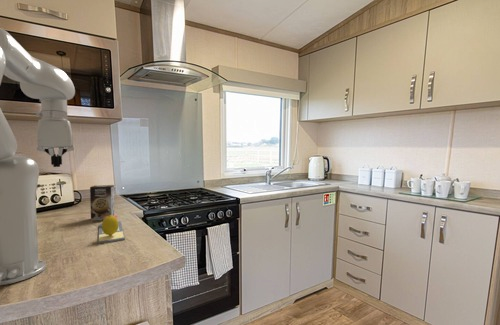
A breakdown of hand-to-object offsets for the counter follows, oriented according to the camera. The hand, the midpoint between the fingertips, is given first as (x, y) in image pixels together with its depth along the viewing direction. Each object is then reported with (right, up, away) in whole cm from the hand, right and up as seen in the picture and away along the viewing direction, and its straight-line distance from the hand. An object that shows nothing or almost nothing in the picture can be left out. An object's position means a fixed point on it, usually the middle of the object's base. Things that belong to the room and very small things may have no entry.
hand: (56, 166), depth 93 cm
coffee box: (0, -26, +29) cm, 39 cm away
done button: (+10, -24, +17) cm, 31 cm away
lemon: (+19, -27, +2) cm, 33 cm away
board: (+15, -27, +9) cm, 32 cm away
